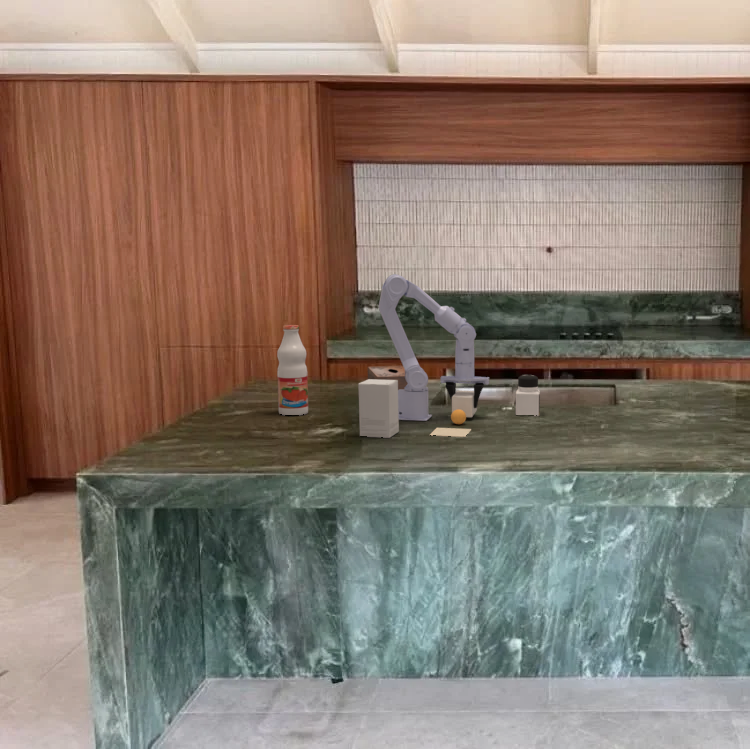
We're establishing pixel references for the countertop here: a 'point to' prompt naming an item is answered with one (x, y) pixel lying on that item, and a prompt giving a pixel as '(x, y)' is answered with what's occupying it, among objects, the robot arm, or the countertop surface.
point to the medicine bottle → (528, 396)
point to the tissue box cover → (388, 374)
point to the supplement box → (378, 408)
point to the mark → (450, 432)
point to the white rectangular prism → (464, 402)
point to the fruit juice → (292, 374)
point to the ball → (458, 416)
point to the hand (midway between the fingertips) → (464, 407)
